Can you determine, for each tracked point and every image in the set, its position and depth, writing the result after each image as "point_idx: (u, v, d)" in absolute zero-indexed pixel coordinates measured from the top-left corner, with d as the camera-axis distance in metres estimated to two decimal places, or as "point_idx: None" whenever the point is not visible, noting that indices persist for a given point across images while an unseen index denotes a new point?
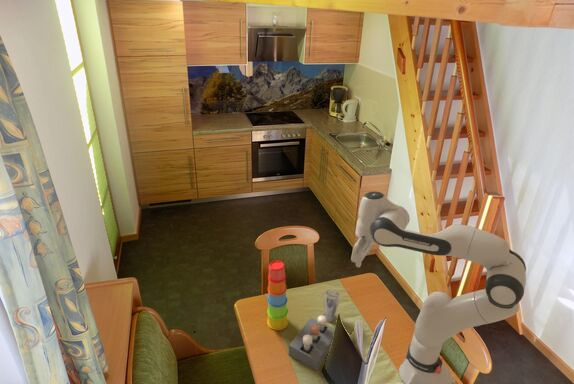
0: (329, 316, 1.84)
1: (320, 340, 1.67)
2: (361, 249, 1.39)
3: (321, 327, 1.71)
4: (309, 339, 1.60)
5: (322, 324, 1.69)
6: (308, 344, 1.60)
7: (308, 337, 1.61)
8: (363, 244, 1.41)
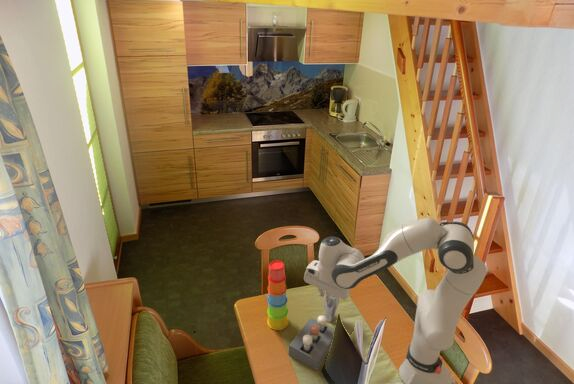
0: (329, 316, 1.84)
1: (320, 340, 1.67)
2: None
3: (321, 327, 1.71)
4: (309, 339, 1.60)
5: (322, 324, 1.69)
6: (308, 344, 1.60)
7: (308, 337, 1.61)
8: None
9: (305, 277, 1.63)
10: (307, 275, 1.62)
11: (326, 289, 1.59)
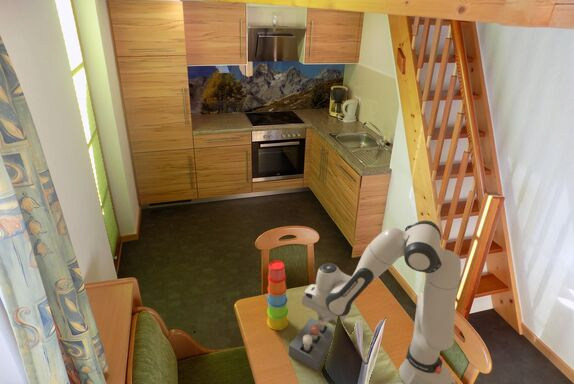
0: None
1: (320, 340, 1.67)
2: None
3: (321, 328, 1.71)
4: (309, 339, 1.60)
5: (322, 325, 1.70)
6: (308, 344, 1.60)
7: (308, 337, 1.61)
8: None
9: (303, 300, 1.70)
10: (305, 299, 1.68)
11: (323, 313, 1.66)
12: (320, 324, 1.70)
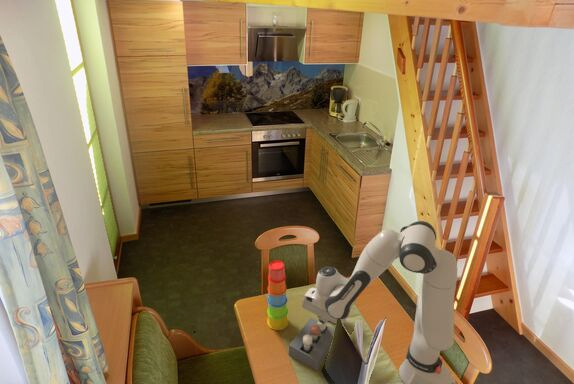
0: None
1: (320, 340, 1.67)
2: None
3: (320, 332, 1.73)
4: (309, 339, 1.60)
5: (321, 329, 1.71)
6: (308, 344, 1.60)
7: (308, 337, 1.61)
8: None
9: (303, 304, 1.71)
10: (305, 302, 1.69)
11: (323, 316, 1.67)
12: None
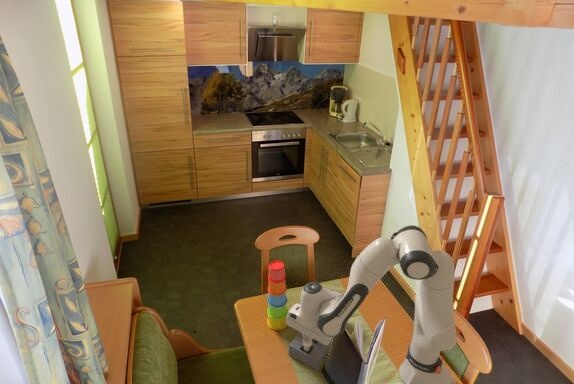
0: None
1: None
2: None
3: None
4: None
5: None
6: (308, 346, 1.60)
7: None
8: None
9: (287, 320, 1.60)
10: (289, 319, 1.59)
11: (308, 334, 1.57)
12: None
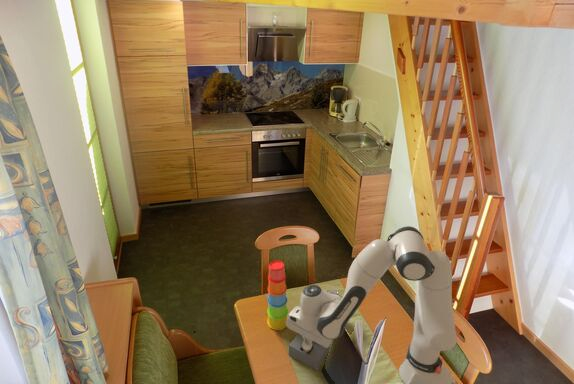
0: None
1: None
2: None
3: None
4: None
5: None
6: (307, 349, 1.61)
7: None
8: None
9: (287, 323, 1.61)
10: (289, 321, 1.60)
11: (308, 336, 1.57)
12: None
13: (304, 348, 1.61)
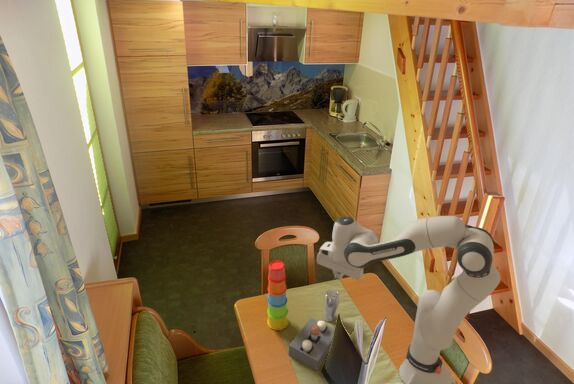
0: (329, 316, 1.84)
1: (320, 340, 1.67)
2: None
3: (320, 332, 1.73)
4: (308, 344, 1.62)
5: (321, 329, 1.71)
6: (307, 349, 1.61)
7: (308, 343, 1.63)
8: None
9: (318, 259, 1.63)
10: (320, 257, 1.62)
11: (340, 270, 1.60)
12: None
13: (304, 348, 1.61)
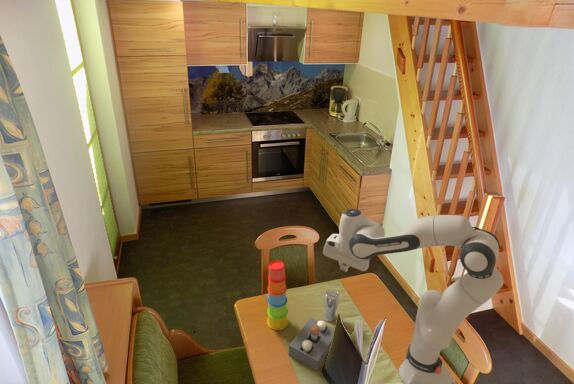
0: (329, 316, 1.84)
1: (320, 340, 1.67)
2: None
3: (320, 332, 1.73)
4: (308, 344, 1.62)
5: (321, 329, 1.71)
6: (307, 349, 1.61)
7: (308, 343, 1.63)
8: None
9: (324, 250, 1.65)
10: (327, 248, 1.64)
11: (346, 261, 1.62)
12: None
13: (304, 348, 1.61)
